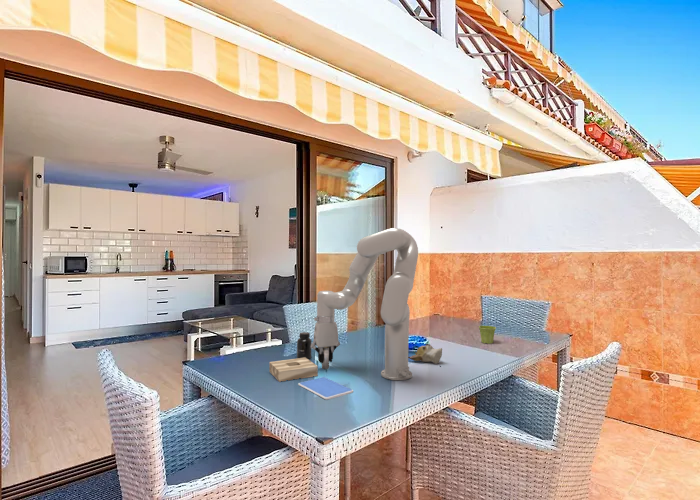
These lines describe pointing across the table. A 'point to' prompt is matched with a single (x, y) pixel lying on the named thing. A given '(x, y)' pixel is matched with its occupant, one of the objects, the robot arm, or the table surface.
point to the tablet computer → (325, 388)
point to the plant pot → (487, 334)
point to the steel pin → (325, 358)
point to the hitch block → (293, 369)
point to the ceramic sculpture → (427, 354)
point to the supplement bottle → (304, 346)
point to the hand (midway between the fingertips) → (325, 361)
